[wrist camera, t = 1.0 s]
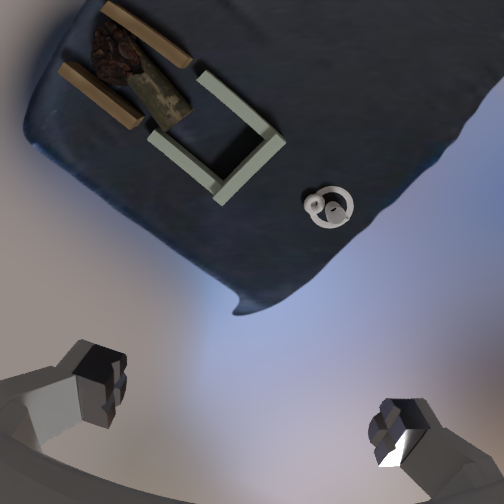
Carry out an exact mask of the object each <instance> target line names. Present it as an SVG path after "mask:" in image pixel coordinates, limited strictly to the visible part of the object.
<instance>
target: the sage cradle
mask: <svg viewBox="0 0 504 504" xmlns="http://www.w3.org/2000/svg"><path fill="white" fill-rule="evenodd" d="M197 81H198V82H199V83H200V84H202V85H203V86H204V87H205V88H206V89H208V90H209V91H210V92H211V93H212V94H214V95H215V96H216V97H217V98H218V99H220V100H221V101H222V102H223V103H224V104H225V105H227V106H228V107H229V108H230V109H231V110H232V111H234V112H235V113H236V114H237V115H238V116H239V117H240V118H242V119H243V120H244V121H245V122H246V123H247V124H248V125H249V126H251V127H252V128H253V129H254V130H255V131H256V132H257V133H258V134H259V135H260V136H262V137H263V138H264V140H263V141H262V142H261V143H260V144H259V145H258V146H257V147H256V148H255V149H254V150H253V151H252V152H251V153H250V154H249V155H248V156H247V157H246V158H245V159H244V160H243V161H242V162H241V163H240V164H239V165H238V166H237V167H236V168H235V169H234V170H233V172H232V173H231V174H230V175H229V176H228V177H227V178H226V179H225V180H224V181H223V180H222V179H221V178H219V177H218V176H217V175H216V174H215V173H214V172H212V171H211V170H210V169H209V168H208V167H206V166H205V165H204V164H203V163H202V162H200V161H199V160H198V159H197V158H196V157H195V156H193V155H192V154H191V153H190V152H189V151H187V150H186V149H185V148H184V147H182V146H181V145H180V144H179V143H178V142H176V141H175V140H174V139H173V138H172V137H170V136H169V135H168V134H167V133H166V132H165V133H164V132H163V130H162V129H161V128H159V127H158V128H157V129H155V130H154V131H153V132H152V133H151V135H150V136H149V137H148V139H147V140H148V141H149V142H151V143H152V144H153V145H154V146H155V147H157V148H158V149H159V150H160V151H162V152H163V153H164V154H165V155H166V156H168V157H169V158H170V159H171V160H173V161H174V162H175V163H176V164H177V165H179V166H180V167H181V168H182V169H183V170H185V171H186V172H187V173H188V174H189V175H191V176H192V177H193V178H194V179H196V180H197V181H198V182H199V183H200V184H202V185H203V186H204V187H205V188H206V189H208V190H209V191H210V192H211V193H212V194H214V195H213V199H214V200H215V201H217V202H218V203H219V204H220V205H221V206H223V205H224V204H225V203H226V202H227V201H228V200H229V199H230V198H231V197H232V196H233V195H234V194H235V193H236V192H237V191H238V190H239V189H240V188H241V187H242V186H243V185H244V184H245V183H246V182H247V181H248V180H249V179H250V178H251V177H252V176H253V175H254V174H255V173H256V172H257V171H258V170H259V169H260V168H261V167H262V166H263V165H264V164H265V163H266V162H267V161H268V160H269V159H270V158H271V157H272V156H273V155H274V154H275V153H276V152H277V151H278V150H279V149H280V148H281V147H282V146H284V145H285V144H286V141H285V139H284V137H283V136H282V135H281V134H280V133H278V132H277V131H276V130H275V129H274V128H273V127H272V126H271V125H270V124H269V123H268V122H267V121H266V120H265V119H263V118H262V117H261V116H260V115H259V114H258V113H257V112H256V111H255V110H254V109H252V108H251V107H250V106H249V105H248V104H247V103H246V102H245V101H243V100H242V99H241V98H240V97H239V96H238V95H237V94H235V93H234V92H233V91H232V90H231V89H230V88H228V87H227V86H226V85H225V84H224V83H222V82H221V81H220V80H219V79H218V78H216V77H215V76H214V75H213V74H212V73H210V72H209V71H208V70H205V71H204V73H203V74H202V75H201V76H200V77H199V78H198V79H197Z"/></svg>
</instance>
